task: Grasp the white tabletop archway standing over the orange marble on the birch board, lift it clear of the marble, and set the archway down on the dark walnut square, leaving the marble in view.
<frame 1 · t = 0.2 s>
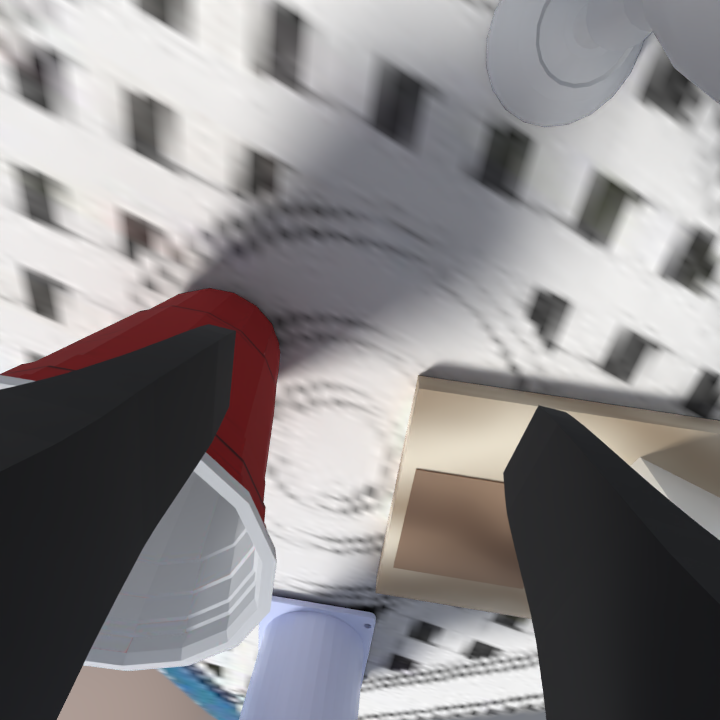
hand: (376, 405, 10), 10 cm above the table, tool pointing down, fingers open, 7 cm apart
white tabletop archway: (643, 516, 22), point 1 cm above the table, touching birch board
plastic cup: (226, 337, 21), on the table, touching gripper
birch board: (546, 513, 25), on the table
chalice: (562, 42, 15), on the table
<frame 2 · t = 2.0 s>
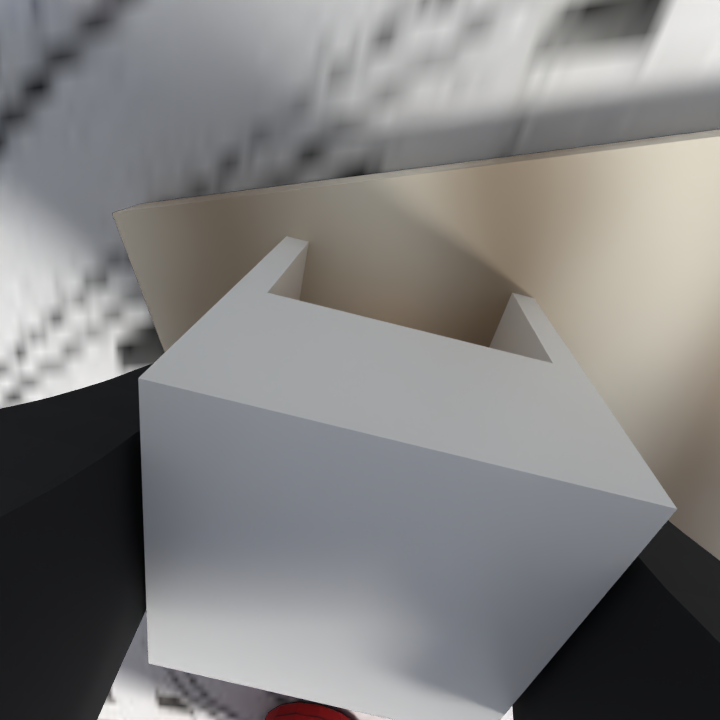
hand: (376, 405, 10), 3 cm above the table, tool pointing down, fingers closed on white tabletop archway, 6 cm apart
white tabletop archway: (380, 373, 11), point 1 cm above the table, touching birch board, gripper
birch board: (460, 460, 14), on the table
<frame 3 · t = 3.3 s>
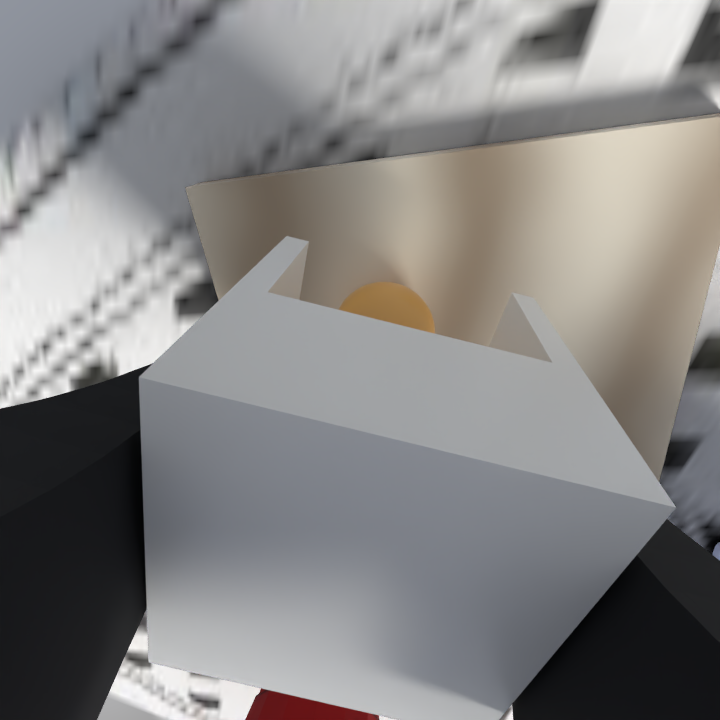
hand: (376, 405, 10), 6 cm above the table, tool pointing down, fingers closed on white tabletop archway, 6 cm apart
white tabletop archway: (380, 372, 11), point 5 cm above the table, touching gripper
orange marble: (385, 313, 14), point 1 cm above the table, touching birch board
plastic cup: (325, 647, 27), on the table
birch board: (449, 393, 17), on the table
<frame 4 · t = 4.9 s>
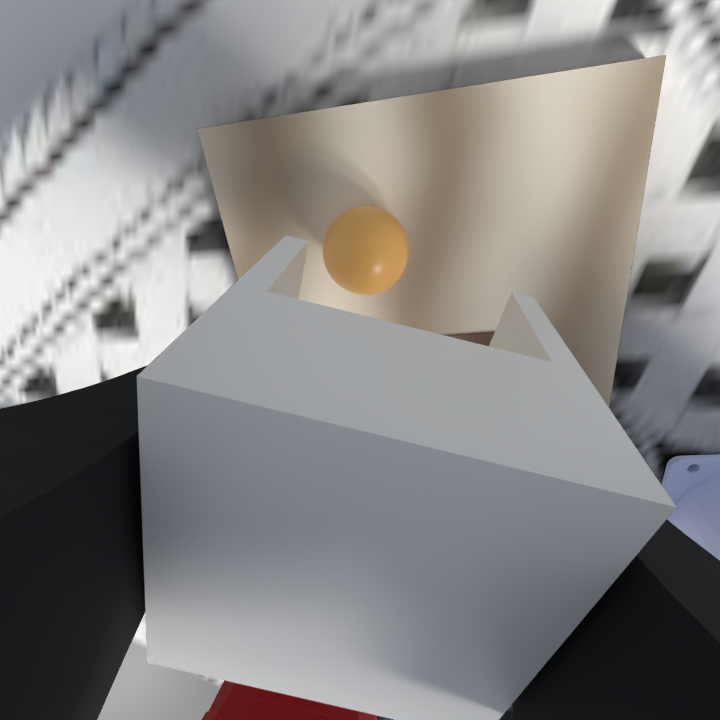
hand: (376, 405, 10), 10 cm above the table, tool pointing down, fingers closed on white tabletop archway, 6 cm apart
white tabletop archway: (379, 372, 11), point 8 cm above the table, touching gripper
orange marble: (369, 240, 17), point 1 cm above the table, touching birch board
plastic cup: (321, 578, 29), on the table
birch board: (427, 320, 19), on the table
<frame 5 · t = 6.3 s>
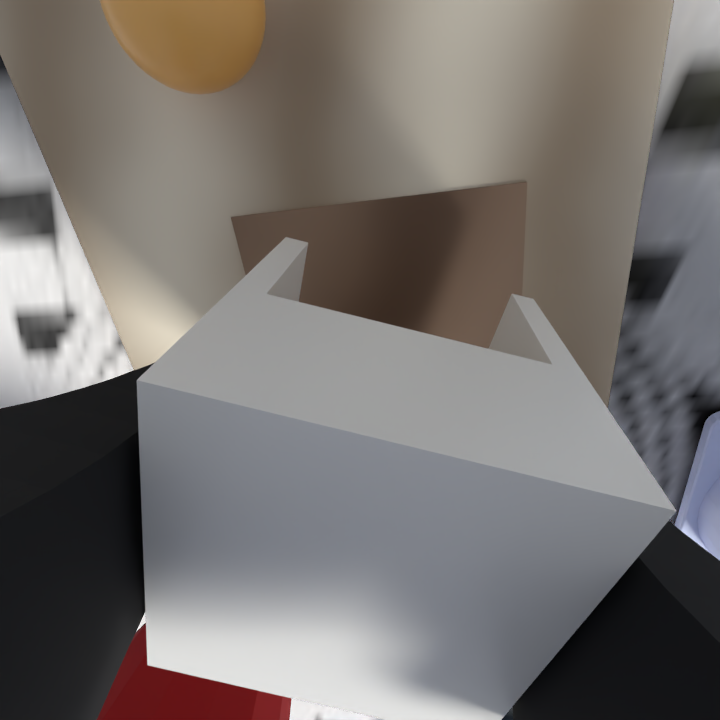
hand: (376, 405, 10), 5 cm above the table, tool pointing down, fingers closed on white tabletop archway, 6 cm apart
white tabletop archway: (379, 374, 11), point 4 cm above the table, touching gripper
orange marble: (216, 18, 10), point 1 cm above the table, touching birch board
plastic cup: (237, 585, 22), on the table
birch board: (339, 189, 12), on the table
when the fingers open (4 cm above the table, at t = 7.5 s): white tabletop archway drops 1 cm, resting on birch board.
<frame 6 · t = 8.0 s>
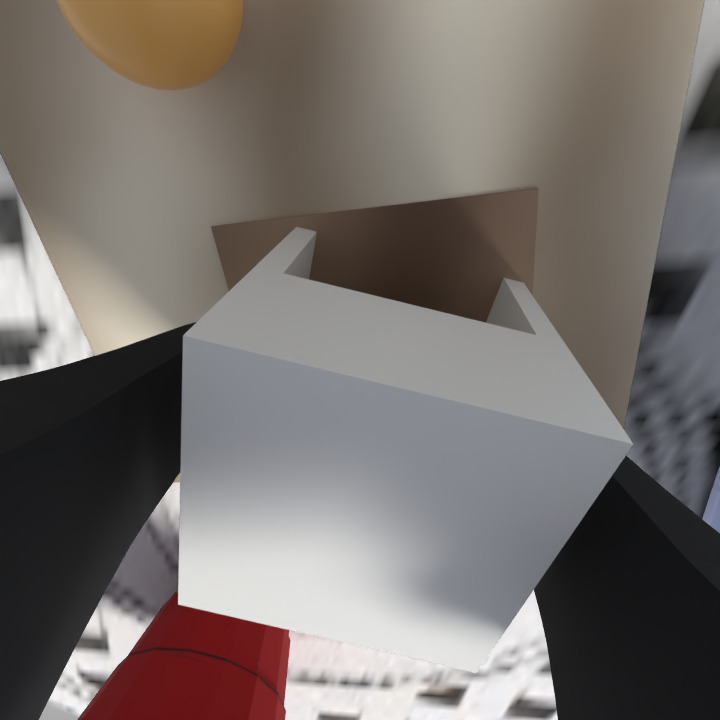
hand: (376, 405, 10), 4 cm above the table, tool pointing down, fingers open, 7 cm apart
white tabletop archway: (382, 354, 12), point 1 cm above the table, touching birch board
orange marble: (190, 5, 9), point 1 cm above the table, touching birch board
plastic cup: (228, 609, 21), on the table
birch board: (330, 196, 11), on the table
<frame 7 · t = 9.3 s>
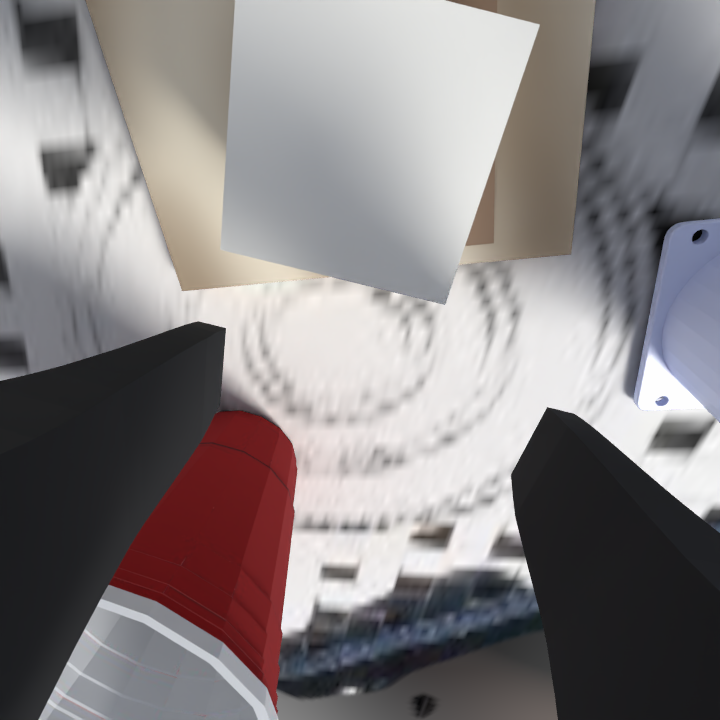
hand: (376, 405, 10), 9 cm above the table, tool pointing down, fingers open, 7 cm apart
white tabletop archway: (376, 140, 15), point 1 cm above the table, touching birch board
plastic cup: (241, 448, 24), on the table
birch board: (334, 2, 14), on the table
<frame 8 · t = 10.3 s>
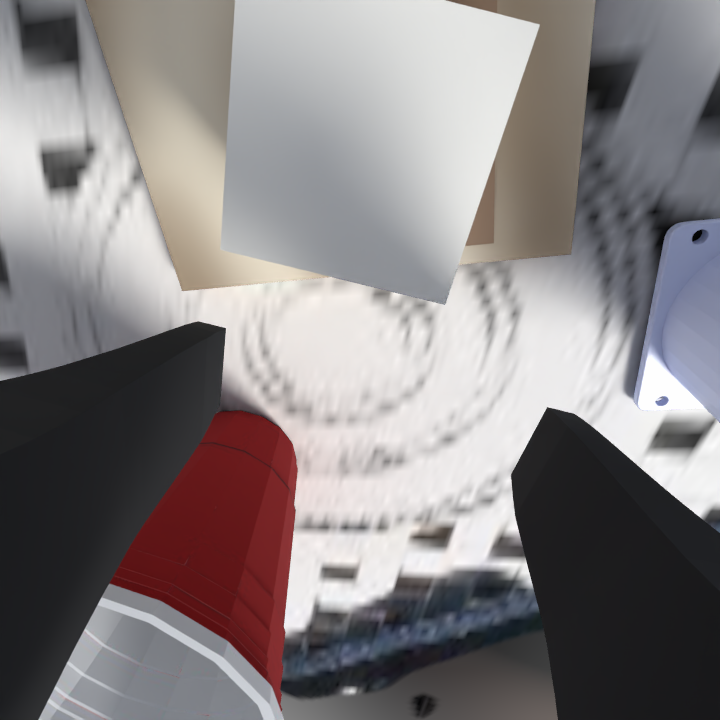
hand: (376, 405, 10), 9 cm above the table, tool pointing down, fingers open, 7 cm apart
white tabletop archway: (376, 140, 15), point 1 cm above the table, touching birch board
plastic cup: (241, 448, 24), on the table
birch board: (334, 2, 14), on the table
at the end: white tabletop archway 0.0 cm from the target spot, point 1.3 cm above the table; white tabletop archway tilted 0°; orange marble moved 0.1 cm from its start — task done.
